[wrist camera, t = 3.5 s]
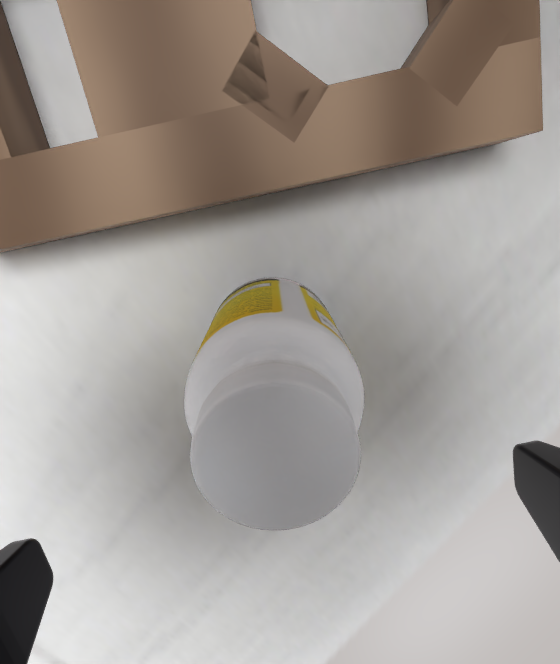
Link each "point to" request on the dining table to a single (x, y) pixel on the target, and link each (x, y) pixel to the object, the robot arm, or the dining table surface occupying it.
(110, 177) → the socket board
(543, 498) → the robot arm
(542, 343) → the dining table surface
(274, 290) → the supplement bottle
